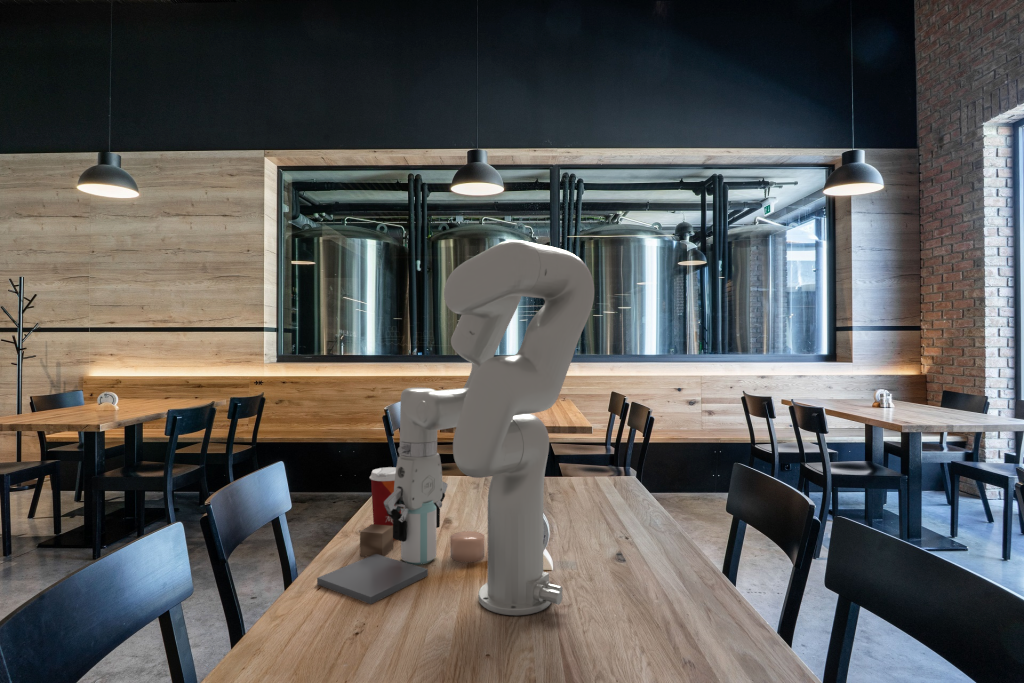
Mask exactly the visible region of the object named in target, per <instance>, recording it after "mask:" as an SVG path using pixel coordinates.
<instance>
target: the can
mask: <svg viewBox="0 0 1024 683" xmlns="http://www.w3.org/2000/svg"><path fill="white" fill-rule="evenodd" d="M402 510H403V509H401V512H402ZM405 521H407V539H406V541H404V542H402V541H400V558H401V561H403V562H405V563H409V564H412V565H416V566H419V565H425V564H428V563H430V562H432V561H433V560H434V559H435V558H436V556H437V528H436V506H435V504H434V503H433V500H432V501H431V502H428V503H423V504H422V507H421V508H419V509H417V510H409V512H408V514H407V516H406V518H405Z"/></svg>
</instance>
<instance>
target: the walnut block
mask: <svg viewBox="0 0 1024 683" xmlns="http://www.w3.org/2000/svg"><path fill="white" fill-rule="evenodd" d="M393 550H394V541H393V526H388V525H376V524H372V523H371V524H370V525H368V526H367V527H365V528H363V529H362V530H361V531H360V532H359V556H360V557H369V556H372V555H374V554H378V555H382V556H385V557H386V556H387V555H388V554H389V553H390V552H392V551H393Z"/></svg>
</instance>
